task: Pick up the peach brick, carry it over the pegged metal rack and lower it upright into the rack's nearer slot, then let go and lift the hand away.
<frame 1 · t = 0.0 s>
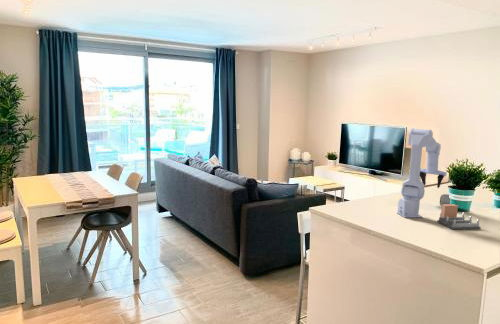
hand: (431, 186, 214), 11 cm above the table, tool pointing down, fingers open, 7 cm apart
pegged metal rack: (458, 225, 178), on the table
peach brick: (448, 218, 189), on the table
ceramic mug: (448, 208, 209), on the table
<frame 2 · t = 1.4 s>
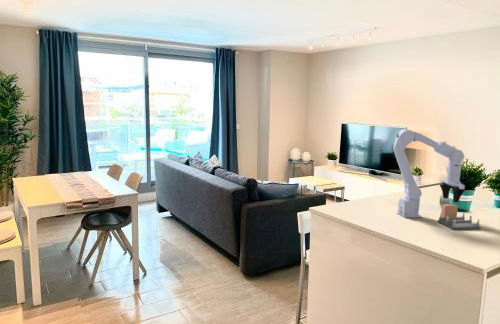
hand: (450, 200, 188), 9 cm above the table, tool pointing down, fingers open, 7 cm apart
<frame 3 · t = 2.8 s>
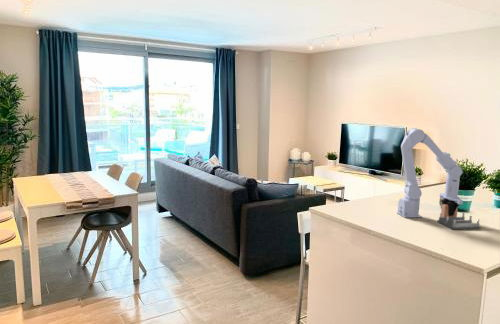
hand: (449, 214, 189), 2 cm above the table, tool pointing down, fingers closed on peach brick, 2 cm apart
peach brick: (448, 218, 189), on the table, touching gripper
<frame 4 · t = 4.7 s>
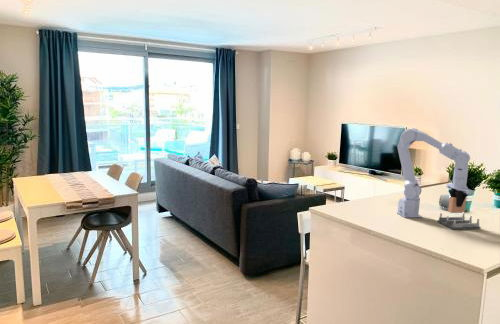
hand: (456, 205, 179), 9 cm above the table, tool pointing down, fingers closed on peach brick, 2 cm apart
peach brick: (456, 212, 180), point 6 cm above the table, touching gripper
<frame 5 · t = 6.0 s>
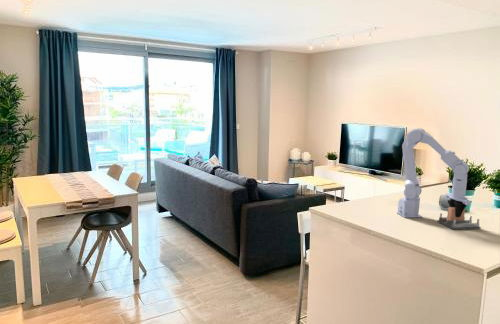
hand: (455, 216, 180), 4 cm above the table, tool pointing down, fingers closed on peach brick, 2 cm apart
peach brick: (455, 221, 180), point 1 cm above the table, touching pegged metal rack, gripper
when the fingers open (4 cm above the table, at t = 6.6 s): peach brick stays where it is, resting on pegged metal rack.
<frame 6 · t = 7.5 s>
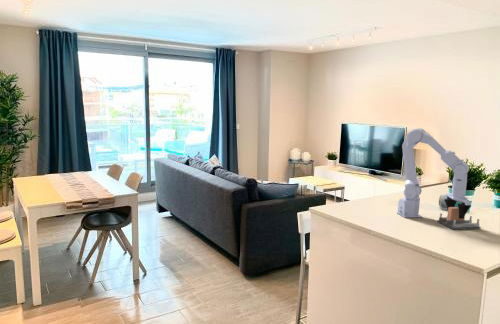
hand: (455, 216, 180), 4 cm above the table, tool pointing down, fingers open, 7 cm apart
peach brick: (455, 221, 180), point 1 cm above the table, touching pegged metal rack
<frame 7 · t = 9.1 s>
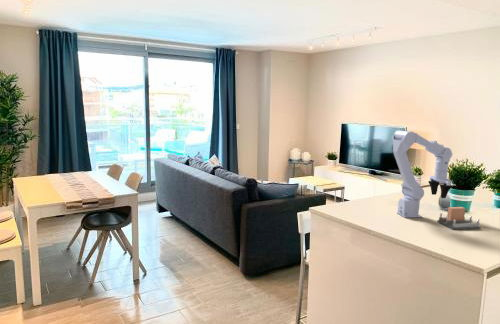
hand: (438, 196, 195), 9 cm above the table, tool pointing down, fingers open, 7 cm apart
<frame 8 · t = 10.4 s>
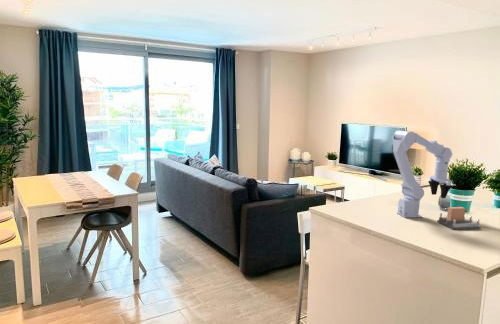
hand: (438, 196, 195), 9 cm above the table, tool pointing down, fingers open, 7 cm apart
at the end: peach brick 0.0 cm from the target spot on the pegged metal rack, point 1.0 cm above the pegged metal rack's base; peach brick tilted 0°; the gripper is holding nothing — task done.
